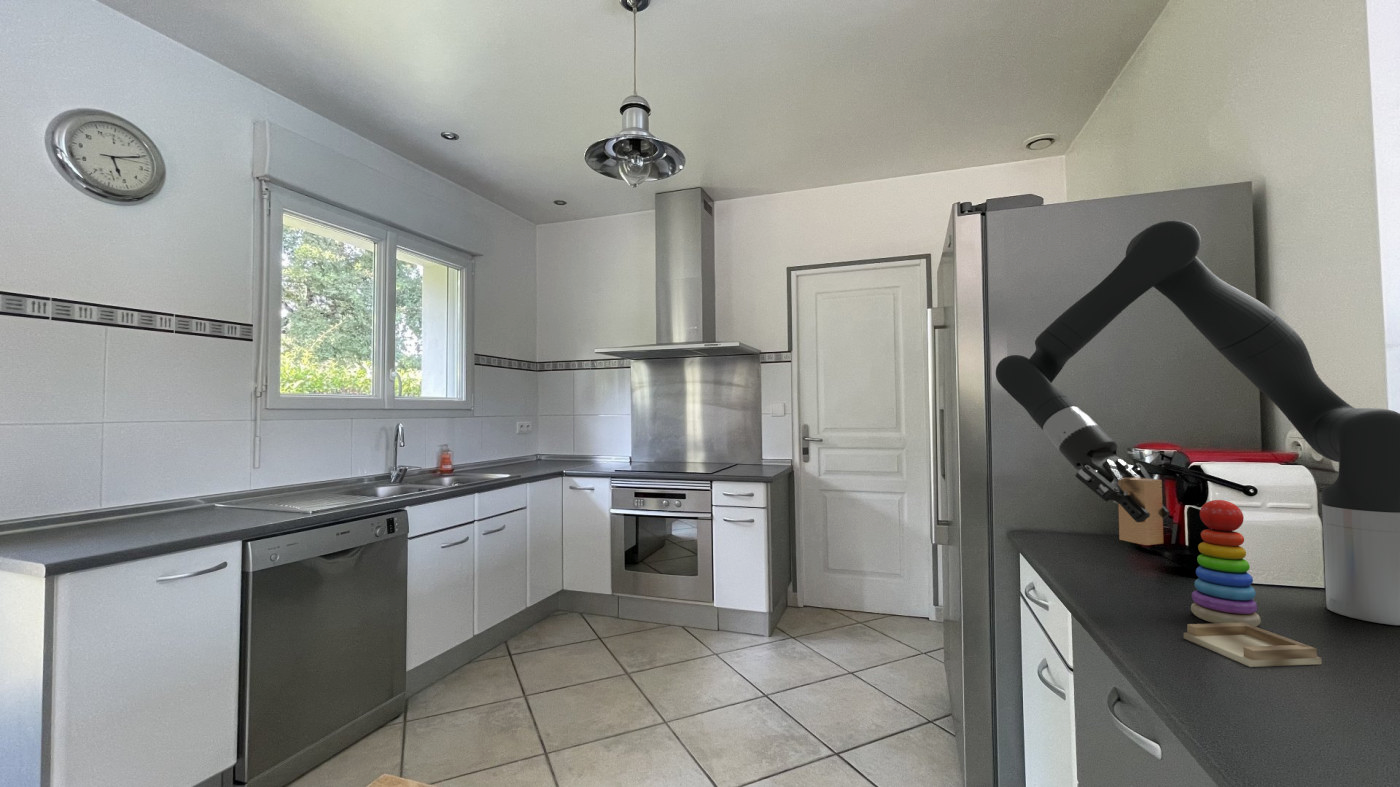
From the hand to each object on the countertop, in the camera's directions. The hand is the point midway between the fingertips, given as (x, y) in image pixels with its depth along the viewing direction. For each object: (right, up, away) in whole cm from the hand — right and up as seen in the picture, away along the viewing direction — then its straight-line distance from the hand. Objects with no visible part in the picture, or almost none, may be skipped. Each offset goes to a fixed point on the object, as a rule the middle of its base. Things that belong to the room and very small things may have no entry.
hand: (1154, 518), depth 87 cm
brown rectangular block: (-1, -4, +2) cm, 5 cm away
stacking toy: (+11, -16, 0) cm, 20 cm away
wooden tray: (+4, -16, -11) cm, 20 cm away
